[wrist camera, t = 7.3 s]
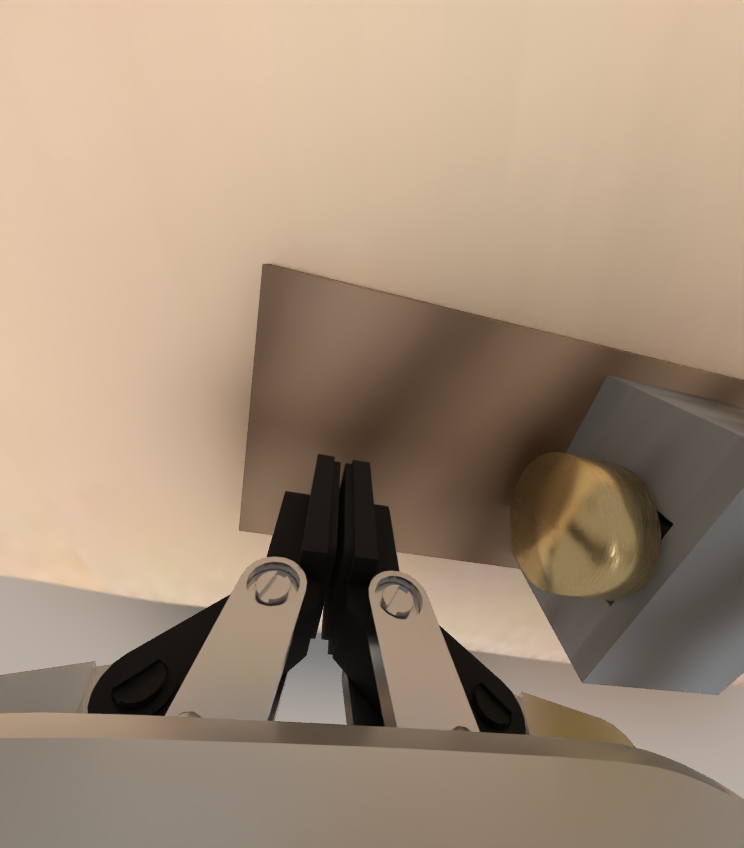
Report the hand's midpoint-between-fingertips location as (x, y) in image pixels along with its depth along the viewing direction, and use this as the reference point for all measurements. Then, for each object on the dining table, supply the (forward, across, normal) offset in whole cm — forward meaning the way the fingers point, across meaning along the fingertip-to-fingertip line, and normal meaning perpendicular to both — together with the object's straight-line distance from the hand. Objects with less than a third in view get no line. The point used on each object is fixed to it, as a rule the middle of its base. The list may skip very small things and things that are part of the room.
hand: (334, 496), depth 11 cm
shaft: (+3, -14, 0) cm, 14 cm away
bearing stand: (+5, -9, 0) cm, 10 cm away
